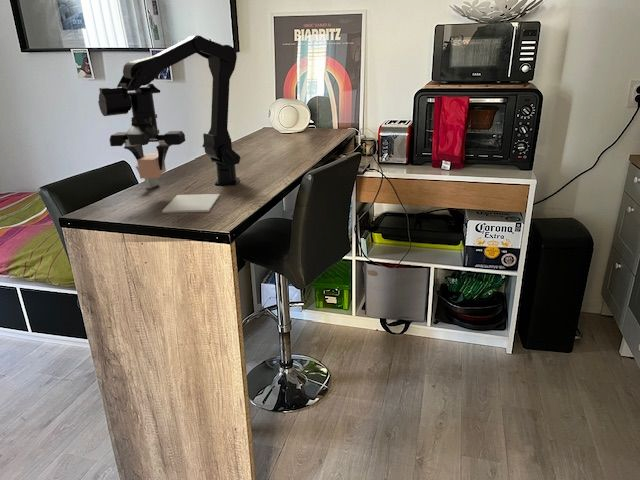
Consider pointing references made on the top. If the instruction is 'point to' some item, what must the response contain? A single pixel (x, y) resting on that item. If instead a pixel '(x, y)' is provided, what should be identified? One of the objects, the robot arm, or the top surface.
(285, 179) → the top surface
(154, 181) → the grey jagged block
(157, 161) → the tan rectangular block
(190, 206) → the mat
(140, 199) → the top surface
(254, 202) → the top surface
